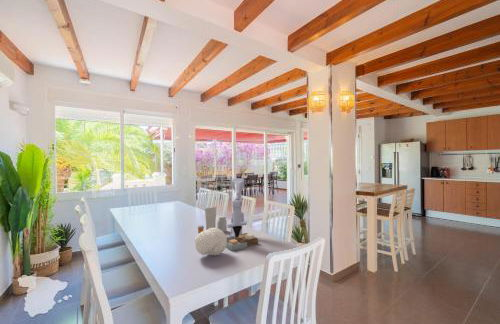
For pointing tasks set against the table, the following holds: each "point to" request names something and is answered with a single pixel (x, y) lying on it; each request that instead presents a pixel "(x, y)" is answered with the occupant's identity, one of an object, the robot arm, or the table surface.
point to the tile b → (249, 236)
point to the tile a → (233, 242)
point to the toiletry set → (213, 220)
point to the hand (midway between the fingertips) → (236, 236)
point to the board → (249, 241)
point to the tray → (236, 246)
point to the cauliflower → (211, 241)
